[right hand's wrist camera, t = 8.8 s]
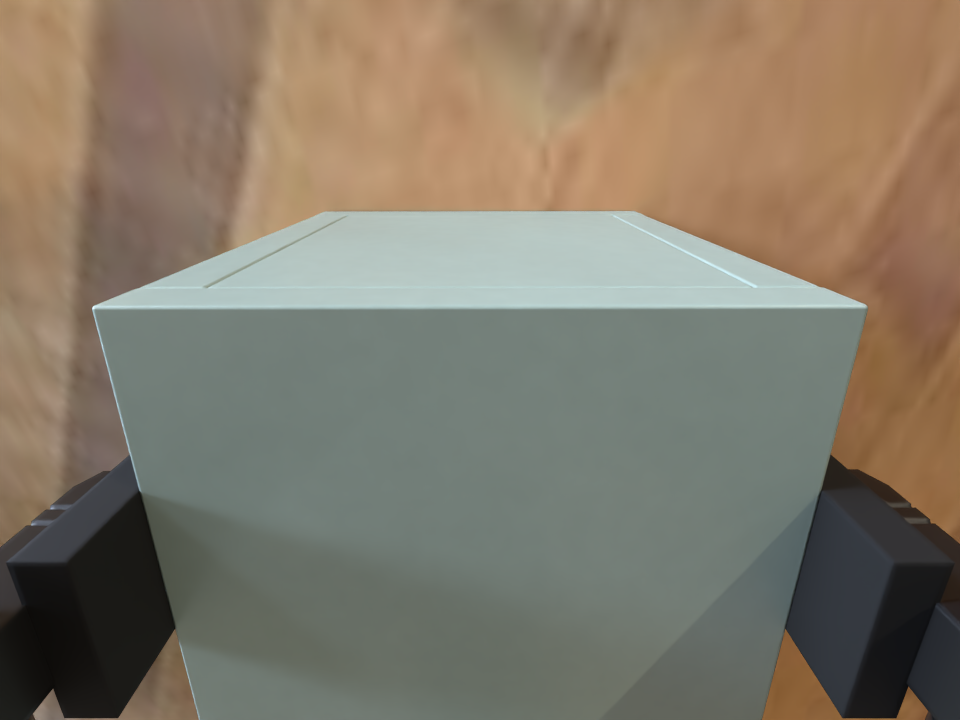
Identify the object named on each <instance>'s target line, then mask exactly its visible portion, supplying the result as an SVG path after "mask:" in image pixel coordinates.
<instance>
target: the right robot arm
mask: <svg viewBox="0 0 960 720" xmlns="http://www.w3.org/2000/svg"><path fill="white" fill-rule="evenodd" d="M785 629H786V630H787V632H788V633H789V635H790V636H791V638H792V640H793V641H794V643H795V644H796V646H797V647H798V649H799V651H800V652H801V654H802V655H803V657H804V658H805V660H806V661H807V663H808V665H809V666H810V668H811V669H812V671H813V672H814V674H815V676H816V677H817V679H818V680H819V682H820V683H821V685H822V687H823V688H824V690H825V691H826V693H827V694H828V696H829V698H830V699H831V701H832V702H833V704H834V705H835V707H836V709H837V710H838V712H839V713H840V715H841V716H842V718H897V715H898V712H899V710H900V707H901V705H902V702H903V699H904V697H905V694H906V691H907V689H908V686H909V687H910V689H911V690H912V691H913V692H914V694H915V695H916V696H917V697H918V699H919V700H920V701H921V702H922V704H923V705H924V706H925V707H926V709H927V710H928V713H927V716H926V718H925V720H960V544H959V543H958V542H957V541H956V540H954V539H953V538H952V537H951V536H949V535H948V534H947V533H946V532H945V531H943V530H942V529H941V528H940V527H938V526H937V525H936V524H931V523H930V519H929V518H928V517H926V516H925V515H924V514H923V513H921V512H920V511H919V510H918V509H917V508H912V507H911V504H910V503H909V502H908V501H907V500H906V499H904V498H903V497H902V496H901V495H899V494H898V493H897V492H896V491H895V490H893V489H892V488H891V487H890V486H889V485H887V484H885V483H883V482H881V481H879V480H877V479H875V478H873V477H871V476H869V475H867V474H866V473H864V472H862V471H860V470H848V469H847V468H846V467H844V466H843V465H842V464H841V463H840V462H839V461H837V460H836V459H835V458H834V457H833V456H832V455H831V454H830V458H829V462H828V466H827V469H826V473H825V477H824V481H823V485H822V489H821V493H820V497H819V500H818V504H817V508H816V512H815V516H814V520H813V524H812V527H811V531H810V535H809V539H808V543H807V547H806V551H805V555H804V558H803V562H802V566H801V570H800V574H799V578H798V582H797V585H796V589H795V593H794V597H793V601H792V605H791V609H790V613H789V616H788V620H787V624H786V628H785ZM174 630H175V625H174V621H173V617H172V614H171V610H170V606H169V602H168V598H167V594H166V591H165V587H164V583H163V579H162V575H161V571H160V568H159V564H158V560H157V556H156V552H155V548H154V545H153V541H152V537H151V533H150V529H149V525H148V521H147V518H146V514H145V510H144V506H143V502H142V498H141V495H140V491H139V487H138V483H137V479H136V475H135V472H134V468H133V464H132V460H131V456H130V455H129V456H128V457H127V458H126V459H124V460H123V461H122V462H121V463H120V464H119V465H117V466H116V467H115V468H114V469H113V470H112V471H103V472H101V473H99V474H97V475H95V476H94V477H92V478H90V479H88V480H86V481H84V482H82V483H80V484H78V485H76V486H74V487H73V488H72V489H70V490H69V491H68V492H67V493H65V494H64V495H63V496H62V497H61V498H59V499H58V500H57V501H56V502H55V503H53V504H52V505H51V508H50V510H45V511H44V512H43V513H41V514H40V515H39V516H38V517H36V518H35V519H34V520H33V521H32V524H31V526H26V527H24V528H23V529H22V530H21V531H20V532H18V533H17V534H16V535H15V536H14V537H12V538H11V539H10V540H9V541H7V542H6V543H5V544H4V545H3V546H1V547H0V720H35V718H34V716H33V713H34V711H35V710H36V709H37V708H38V706H39V705H40V704H41V703H42V701H43V700H44V699H45V698H46V696H47V695H48V694H49V693H50V691H51V690H52V689H54V692H55V694H56V697H57V700H58V702H59V705H60V708H61V710H62V713H63V716H64V718H118V717H119V716H120V714H121V713H122V711H123V710H124V708H125V706H126V705H127V703H128V702H129V700H130V699H131V697H132V695H133V694H134V692H135V691H136V689H137V688H138V686H139V684H140V683H141V681H142V680H143V678H144V677H145V675H146V673H147V672H148V670H149V669H150V667H151V666H152V664H153V662H154V661H155V659H156V658H157V656H158V655H159V653H160V651H161V650H162V648H163V647H164V645H165V644H166V642H167V640H168V639H169V637H170V636H171V634H172V633H173V631H174Z"/></svg>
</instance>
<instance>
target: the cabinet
mask: <svg viewBox="0 0 960 720" xmlns="http://www.w3.org/2000/svg"><path fill="white" fill-rule="evenodd" d="M92 310H93V314H94V318H95V322H96V326H97V330H98V333H99V337H100V341H101V345H102V349H103V353H104V356H105V360H106V364H107V368H108V372H109V376H110V380H111V383H112V387H113V391H114V395H115V399H116V403H117V406H118V410H119V414H120V418H121V422H122V426H123V429H124V433H125V437H126V441H127V445H128V449H129V452H130V456H131V460H132V464H133V468H134V472H135V475H136V479H137V483H138V487H139V491H140V495H141V498H142V502H143V506H144V510H145V514H146V518H147V521H148V525H149V529H150V533H151V537H152V541H153V545H154V548H155V552H156V556H157V560H158V564H159V568H160V571H161V575H162V579H163V583H164V587H165V591H166V594H167V598H168V602H169V606H170V610H171V614H172V617H173V621H174V625H175V629H176V633H177V637H178V640H179V644H180V648H181V652H182V656H183V660H184V663H185V667H186V671H187V675H188V679H189V683H190V687H191V690H192V694H193V698H194V702H195V706H196V710H197V713H198V717H199V720H762V717H763V713H764V709H765V705H766V701H767V698H768V694H769V690H770V686H771V682H772V678H773V674H774V671H775V667H776V663H777V659H778V655H779V651H780V647H781V643H782V640H783V636H784V632H785V628H786V624H787V620H788V616H789V613H790V609H791V605H792V601H793V597H794V593H795V589H796V585H797V582H798V578H799V574H800V570H801V566H802V562H803V558H804V555H805V551H806V547H807V543H808V539H809V535H810V531H811V527H812V524H813V520H814V516H815V512H816V508H817V504H818V500H819V497H820V493H821V489H822V485H823V481H824V477H825V473H826V469H827V466H828V462H829V458H830V454H831V450H832V446H833V442H834V439H835V435H836V431H837V427H838V423H839V419H840V415H841V411H842V408H843V404H844V400H845V396H846V392H847V388H848V384H849V381H850V377H851V373H852V369H853V365H854V361H855V357H856V353H857V350H858V346H859V342H860V338H861V334H862V330H863V326H864V323H865V319H866V315H867V311H868V306H867V305H865V304H863V303H860V302H858V301H855V300H853V299H850V298H848V297H845V296H843V295H841V294H838V293H836V292H833V291H831V290H828V289H826V288H820V287H819V286H816V285H814V284H811V283H809V282H807V281H804V280H802V279H799V278H797V277H794V276H792V275H789V274H787V273H784V272H782V271H779V270H777V269H775V268H772V267H770V266H767V265H765V264H762V263H760V262H757V261H755V260H752V259H750V258H747V257H745V256H743V255H740V254H738V253H735V252H733V251H730V250H728V249H725V248H723V247H720V246H718V245H715V244H713V243H710V242H708V241H706V240H703V239H701V238H698V237H696V236H693V235H691V234H688V233H686V232H683V231H681V230H678V229H676V228H674V227H671V226H669V225H666V224H664V223H661V222H659V221H656V220H654V219H651V218H649V217H646V216H644V215H643V214H640V213H638V212H635V211H442V212H323V213H320V214H318V215H316V216H314V217H311V218H309V219H306V220H304V221H301V222H299V223H297V224H294V225H292V226H289V227H287V228H284V229H282V230H280V231H277V232H275V233H272V234H270V235H267V236H265V237H262V238H260V239H258V240H255V241H253V242H250V243H248V244H245V245H243V246H240V247H238V248H236V249H233V250H231V251H228V252H226V253H223V254H221V255H219V256H216V257H214V258H211V259H209V260H206V261H204V262H201V263H199V264H197V265H194V266H192V267H189V268H187V269H184V270H182V271H179V272H177V273H175V274H172V275H170V276H167V277H165V278H162V279H160V280H158V281H155V282H153V283H150V284H148V285H145V286H143V287H141V288H137V289H134V290H132V291H129V292H127V293H124V294H122V295H120V296H117V297H115V298H112V299H110V300H107V301H105V302H102V303H100V304H97V305H95V306H93V309H92Z"/></svg>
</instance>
